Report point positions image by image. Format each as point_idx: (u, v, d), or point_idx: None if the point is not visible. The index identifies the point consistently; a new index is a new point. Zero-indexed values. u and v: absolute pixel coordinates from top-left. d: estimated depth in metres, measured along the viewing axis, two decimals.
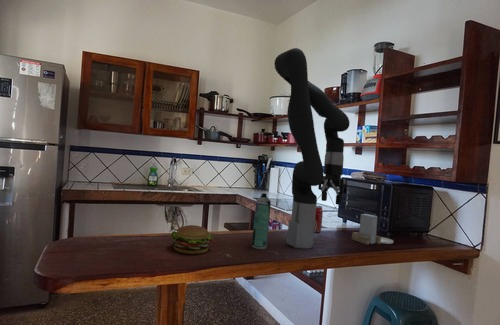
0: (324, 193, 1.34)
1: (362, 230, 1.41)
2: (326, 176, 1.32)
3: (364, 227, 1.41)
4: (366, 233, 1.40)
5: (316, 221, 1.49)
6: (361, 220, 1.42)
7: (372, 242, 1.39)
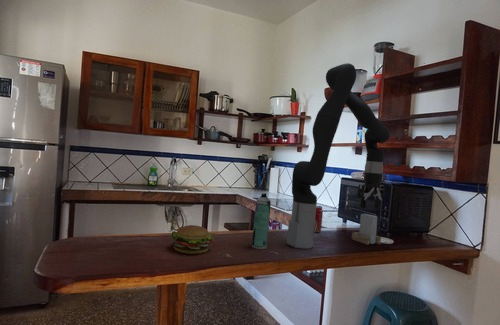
0: None
1: (362, 230, 1.41)
2: (370, 184, 1.39)
3: (364, 227, 1.41)
4: (366, 233, 1.40)
5: (316, 221, 1.49)
6: (361, 220, 1.42)
7: (372, 242, 1.39)
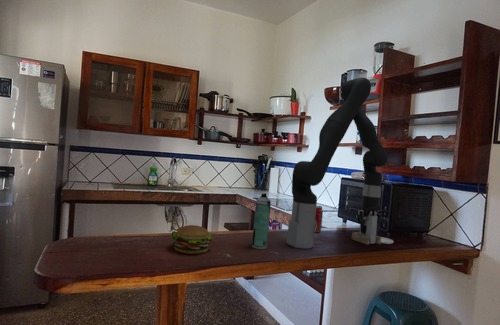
0: None
1: None
2: (367, 208, 1.39)
3: None
4: (366, 233, 1.40)
5: (316, 221, 1.49)
6: None
7: (372, 242, 1.39)
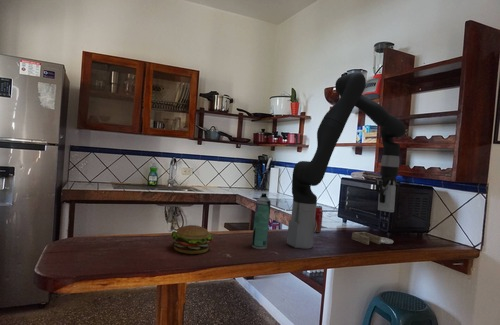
0: None
1: None
2: (386, 177, 1.43)
3: None
4: (385, 202, 1.44)
5: (316, 221, 1.49)
6: None
7: (391, 211, 1.43)
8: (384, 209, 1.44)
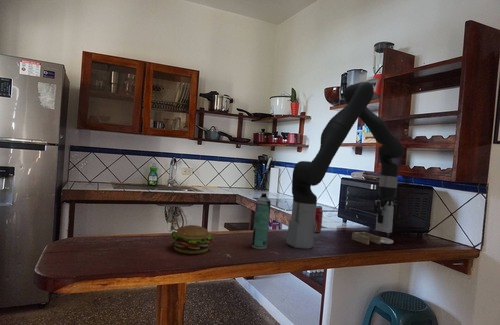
0: None
1: None
2: (384, 198, 1.43)
3: None
4: (383, 222, 1.44)
5: (316, 221, 1.49)
6: None
7: (389, 231, 1.43)
8: (382, 229, 1.44)
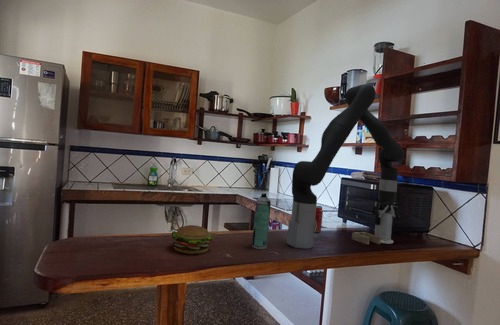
0: None
1: (377, 227, 1.46)
2: (384, 202, 1.43)
3: (379, 225, 1.45)
4: (381, 231, 1.44)
5: (316, 221, 1.49)
6: None
7: (387, 239, 1.43)
8: None
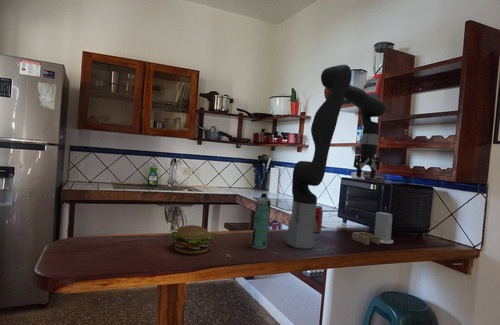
0: None
1: (377, 227, 1.46)
2: (365, 155, 1.49)
3: (379, 225, 1.45)
4: (381, 231, 1.44)
5: (316, 221, 1.49)
6: (376, 218, 1.46)
7: (387, 239, 1.43)
8: None
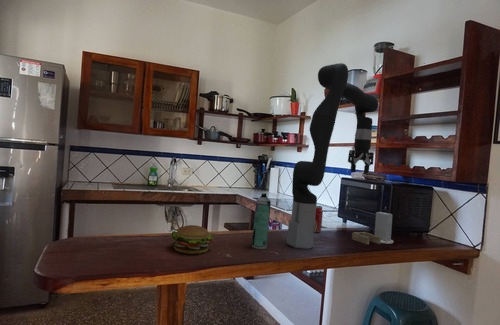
0: None
1: (377, 227, 1.46)
2: (359, 150, 1.51)
3: (379, 225, 1.45)
4: (381, 231, 1.44)
5: (316, 221, 1.49)
6: (376, 218, 1.46)
7: (387, 239, 1.43)
8: None
